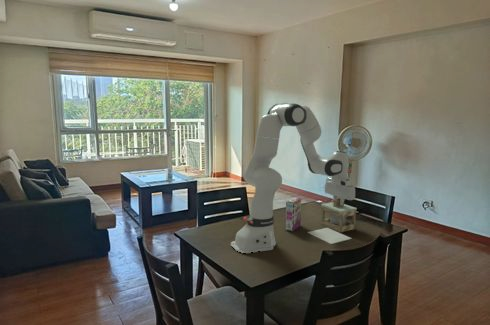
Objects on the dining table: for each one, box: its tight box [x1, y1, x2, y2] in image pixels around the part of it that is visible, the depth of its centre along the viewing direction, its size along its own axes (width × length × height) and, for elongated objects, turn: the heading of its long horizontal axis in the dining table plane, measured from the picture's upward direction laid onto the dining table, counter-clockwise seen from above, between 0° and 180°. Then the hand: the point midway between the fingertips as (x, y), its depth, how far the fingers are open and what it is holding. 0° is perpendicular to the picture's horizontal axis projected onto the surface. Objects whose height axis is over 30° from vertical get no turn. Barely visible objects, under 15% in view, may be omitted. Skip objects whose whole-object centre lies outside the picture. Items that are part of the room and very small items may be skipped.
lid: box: [320, 199, 358, 213], centre depth 186 cm, size 12×16×6 cm
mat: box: [307, 227, 352, 245], centre depth 175 cm, size 14×18×1 cm
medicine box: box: [330, 214, 347, 226], centre depth 188 cm, size 8×4×9 cm, turn 84°
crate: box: [320, 206, 357, 234], centre depth 188 cm, size 11×15×11 cm
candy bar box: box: [284, 196, 302, 232], centre depth 186 cm, size 11×5×16 cm, turn 149°
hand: (338, 204), depth 186 cm, fingers closed on lid
